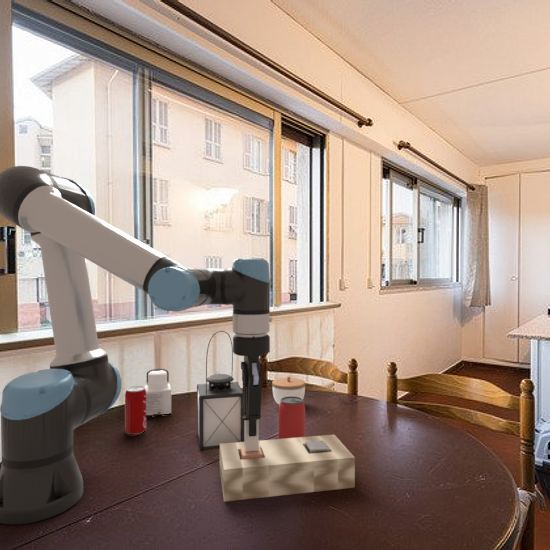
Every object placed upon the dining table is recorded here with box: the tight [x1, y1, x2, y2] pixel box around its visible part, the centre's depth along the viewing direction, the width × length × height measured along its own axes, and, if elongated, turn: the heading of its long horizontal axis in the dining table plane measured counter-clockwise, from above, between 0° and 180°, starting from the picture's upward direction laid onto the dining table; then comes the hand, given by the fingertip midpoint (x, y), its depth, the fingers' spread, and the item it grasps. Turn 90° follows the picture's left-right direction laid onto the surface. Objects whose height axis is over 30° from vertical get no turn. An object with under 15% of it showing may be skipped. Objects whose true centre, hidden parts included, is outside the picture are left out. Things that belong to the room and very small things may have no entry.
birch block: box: [219, 434, 356, 502], centre depth 86 cm, size 26×12×6 cm, turn 101°
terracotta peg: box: [240, 446, 263, 460], centre depth 84 cm, size 4×4×6 cm
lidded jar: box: [271, 376, 306, 405], centre depth 134 cm, size 11×11×9 cm
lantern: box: [196, 330, 245, 452], centre depth 106 cm, size 11×11×28 cm
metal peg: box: [305, 441, 329, 454], centre depth 87 cm, size 4×4×6 cm
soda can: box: [124, 385, 147, 435], centre depth 111 cm, size 6×6×12 cm
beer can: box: [278, 396, 306, 439], centre depth 101 cm, size 7×7×12 cm
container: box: [144, 368, 172, 415], centre depth 127 cm, size 8×8×13 cm
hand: (251, 449), depth 84 cm, fingers closed
